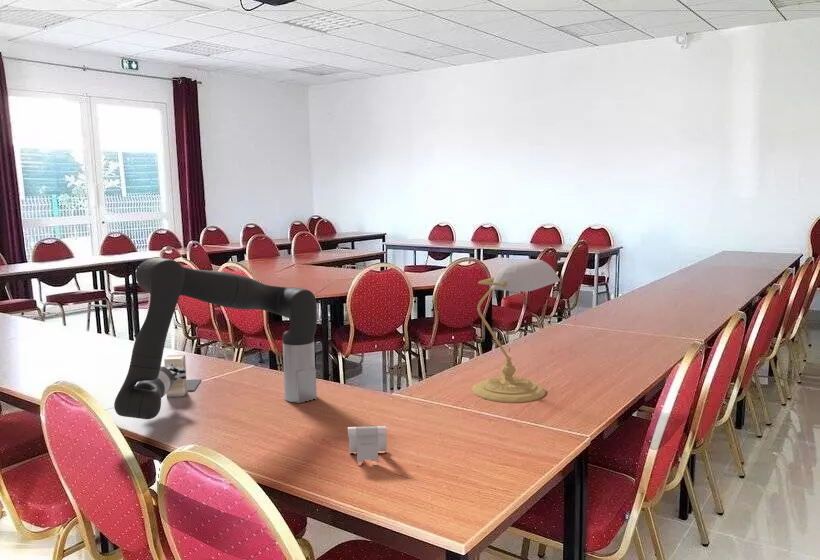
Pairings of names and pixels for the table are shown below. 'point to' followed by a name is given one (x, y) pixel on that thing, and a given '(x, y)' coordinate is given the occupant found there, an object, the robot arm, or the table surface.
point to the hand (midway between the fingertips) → (170, 366)
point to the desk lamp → (516, 280)
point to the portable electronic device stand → (367, 441)
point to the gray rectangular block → (192, 384)
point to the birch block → (180, 384)
